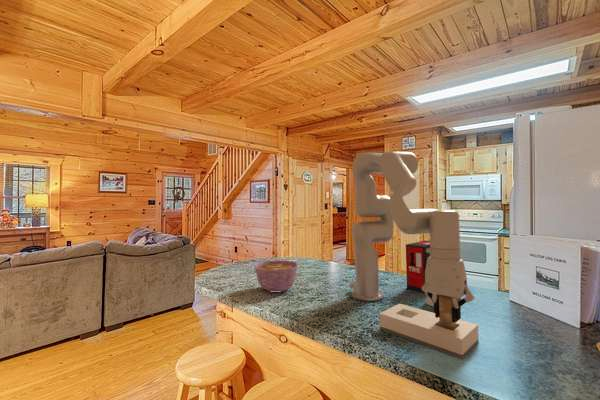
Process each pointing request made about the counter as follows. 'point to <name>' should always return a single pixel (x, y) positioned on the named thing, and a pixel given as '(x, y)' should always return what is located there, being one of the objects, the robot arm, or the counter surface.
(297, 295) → the counter surface
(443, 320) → the oak pin
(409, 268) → the cleaning product box
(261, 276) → the bowl of food
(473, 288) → the counter surface
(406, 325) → the hole block
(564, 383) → the counter surface
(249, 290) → the counter surface
